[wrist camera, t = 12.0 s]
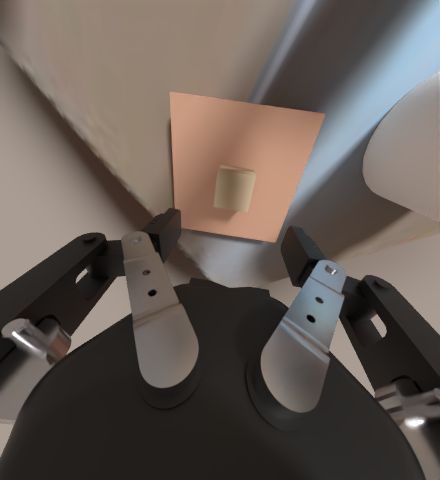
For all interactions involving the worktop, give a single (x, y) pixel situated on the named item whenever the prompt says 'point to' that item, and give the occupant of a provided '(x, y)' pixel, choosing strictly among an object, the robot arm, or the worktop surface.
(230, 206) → the maple block
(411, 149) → the cylinder
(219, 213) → the terracotta platform
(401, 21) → the worktop surface
